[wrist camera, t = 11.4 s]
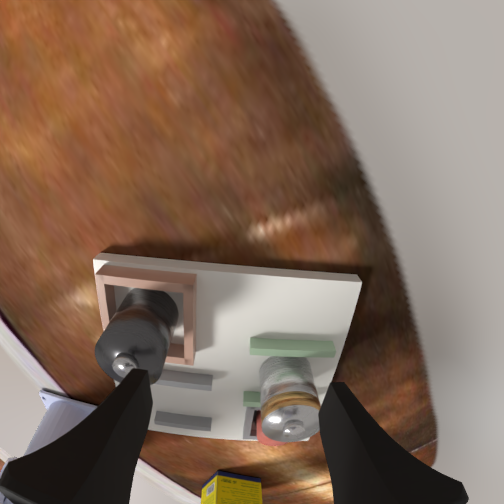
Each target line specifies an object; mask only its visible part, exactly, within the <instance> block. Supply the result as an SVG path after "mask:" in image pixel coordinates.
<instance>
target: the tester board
mask: <svg viewBox="0 0 504 504" xmlns="http://www.w3.org/2000/svg"><path fill="white" fill-rule="evenodd" d="M93 263H94V272H95V280H96V288H97V295H98V302H99V308H100V314H101V320H102V326H103V331H104V330H105V329H106V327H107V325H108V324H109V322H110V320H111V319H112V317H113V316H114V314H115V312H116V311H117V309H118V308H119V306H120V305H121V303H122V301H123V300H124V298H125V297H126V295H127V294H128V293H129V291H131V290H132V289H134V288H142V289H150V290H159V291H164V292H166V293H167V294H168V295H169V296H170V297H171V298H172V299H173V300H174V302H175V303H176V305H177V308H178V313H179V318H178V322H177V325H176V328H175V331H174V334H173V338H172V341H171V344H170V347H169V350H168V354H167V357H166V360H165V363H164V367H163V370H162V373H161V376H160V378H159V380H158V381H157V382H156V383H154V384H152V385H150V387H151V393H152V399H153V407H152V412H151V417H150V422H149V426H148V430H153V431H159V432H166V433H173V434H180V435H188V436H196V437H206V438H217V439H230V440H249V441H258V439H257V426H256V413H257V411H258V410H261V402H260V383H259V369H260V366H261V365H262V363H263V362H264V361H265V360H266V359H268V358H269V357H271V356H281V357H305V358H307V359H308V361H309V362H310V365H311V369H312V373H313V377H314V381H315V385H316V390H317V394H318V398H319V402H320V405H322V403H323V400H324V397H325V395H326V392H327V389H328V386H329V384H330V383H331V381H332V379H333V376H334V373H335V370H336V367H337V364H338V361H339V358H340V355H341V352H342V349H343V346H344V343H345V340H346V337H347V334H348V331H349V327H350V324H351V321H352V317H353V314H354V311H355V307H356V304H357V300H358V296H359V293H360V289H361V285H362V281H361V280H360V278H359V277H358V275H357V274H343V273H330V272H316V271H303V270H291V269H278V268H266V267H253V266H241V265H229V264H218V263H206V262H195V261H184V260H173V259H162V258H151V257H141V256H130V255H120V254H110V253H99V254H98V255H97V256H96V257H95V258H94V259H93ZM114 381H115V385H116V387H117V386H118V385H119V382H118V381H116V380H114ZM309 438H310V437H309ZM309 438H306V439H304V440H300V441H308V440H309Z"/></svg>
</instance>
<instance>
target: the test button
mask: <svg viewBox="0 0 504 504" xmlns="http://www.w3.org/2000/svg"><path fill="white" fill-rule="evenodd" d="M256 426H257V439H258V441H259V442H260V443H262V444H264V445H269V446H278V445H283V444H286V443H288V442H279V441H275V440H272V439H270V438H268V437H267V436H265V434H264V433H263V431H262V427H261V410H258V411H257V413H256Z"/></svg>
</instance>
